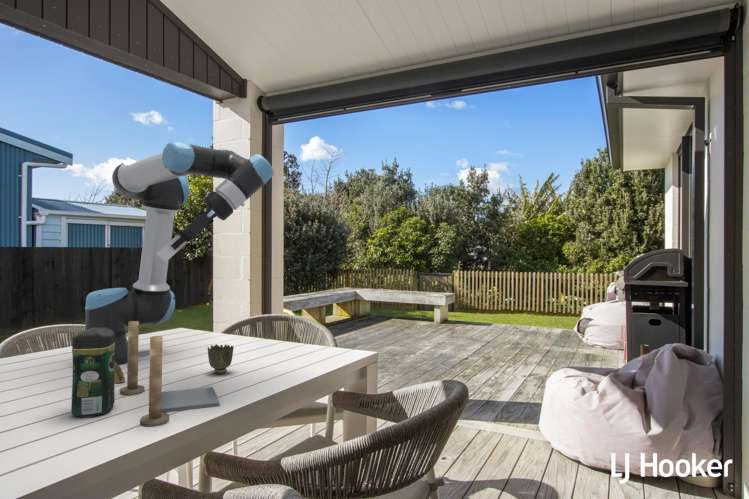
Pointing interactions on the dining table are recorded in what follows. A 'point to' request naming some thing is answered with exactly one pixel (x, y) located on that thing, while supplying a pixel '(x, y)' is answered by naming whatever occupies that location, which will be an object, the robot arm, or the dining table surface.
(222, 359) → the cup
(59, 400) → the dining table surface
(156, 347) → the dowel
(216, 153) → the robot arm
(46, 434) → the dining table surface
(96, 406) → the coffee jar
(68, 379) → the dining table surface
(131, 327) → the dowel
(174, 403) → the slate pad
